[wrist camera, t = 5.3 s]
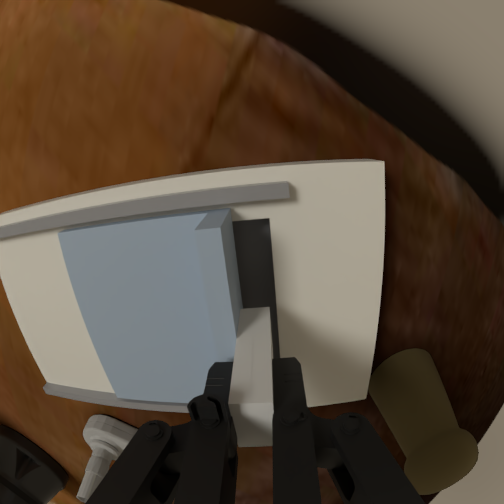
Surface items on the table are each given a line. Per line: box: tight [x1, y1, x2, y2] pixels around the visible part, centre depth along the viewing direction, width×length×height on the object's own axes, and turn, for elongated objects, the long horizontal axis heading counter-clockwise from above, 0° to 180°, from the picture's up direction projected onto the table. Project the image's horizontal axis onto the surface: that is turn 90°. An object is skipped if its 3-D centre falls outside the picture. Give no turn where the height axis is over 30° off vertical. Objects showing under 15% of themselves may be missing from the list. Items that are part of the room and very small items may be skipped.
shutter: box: [58, 208, 243, 403], centre depth 15 cm, size 10×12×4 cm
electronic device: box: [76, 414, 138, 503], centre depth 22 cm, size 5×10×15 cm
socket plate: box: [0, 159, 385, 413], centre depth 18 cm, size 26×16×3 cm, turn 96°
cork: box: [368, 348, 479, 495], centre depth 16 cm, size 6×6×11 cm
